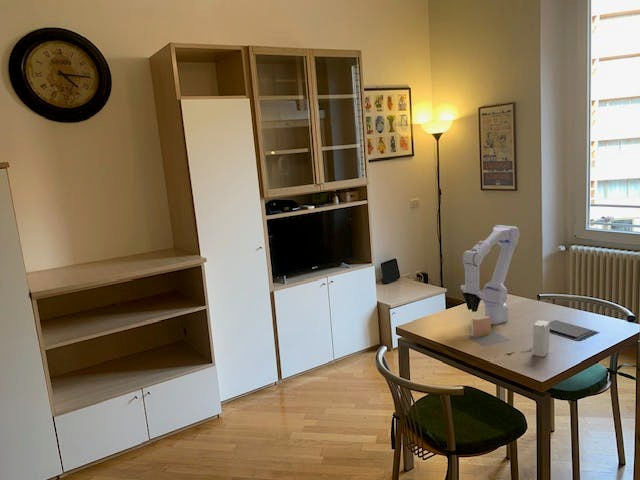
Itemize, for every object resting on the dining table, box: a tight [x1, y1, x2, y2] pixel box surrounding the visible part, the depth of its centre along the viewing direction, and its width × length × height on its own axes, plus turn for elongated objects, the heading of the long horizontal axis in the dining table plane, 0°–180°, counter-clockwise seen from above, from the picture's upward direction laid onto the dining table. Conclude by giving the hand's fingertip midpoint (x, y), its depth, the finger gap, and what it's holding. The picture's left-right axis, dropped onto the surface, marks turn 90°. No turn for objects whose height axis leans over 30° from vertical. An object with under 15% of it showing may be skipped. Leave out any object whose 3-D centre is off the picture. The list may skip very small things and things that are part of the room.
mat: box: [465, 329, 511, 347], centre depth 204 cm, size 13×12×1 cm
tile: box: [470, 316, 492, 337], centre depth 207 cm, size 8×2×7 cm, turn 107°
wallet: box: [549, 319, 600, 342], centre depth 209 cm, size 20×2×15 cm
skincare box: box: [532, 320, 551, 358], centre depth 188 cm, size 6×4×12 cm
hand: (472, 310), depth 212 cm, fingers open, 2 cm apart
